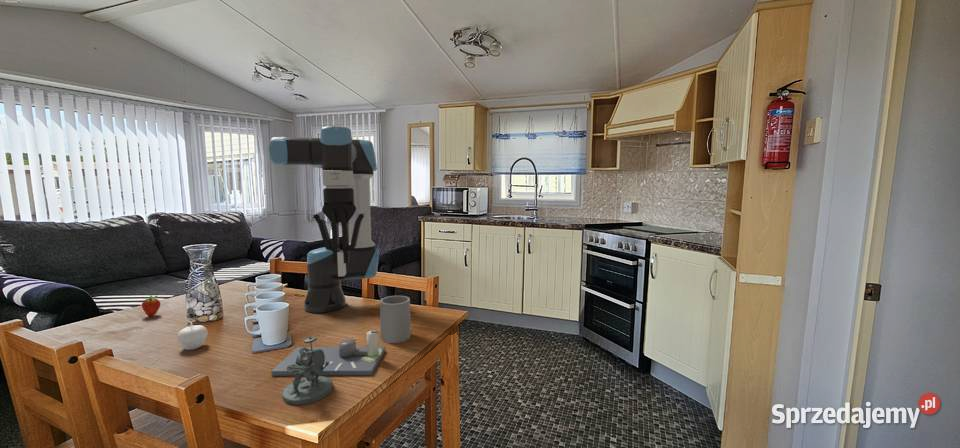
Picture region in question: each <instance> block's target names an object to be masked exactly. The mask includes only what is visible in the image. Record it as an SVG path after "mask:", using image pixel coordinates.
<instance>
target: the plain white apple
mask: <svg viewBox="0 0 960 448" xmlns="http://www.w3.org/2000/svg"><path fill="white" fill-rule="evenodd" d="M207 337H208V330H207V328H206V327H205V326H204V325H201V324H198V325H196V324H195V325H194V324H193V321H190V326H189V325H188V326H186V327H184V328H182V329H181V330H180V331H179V332H178V334H177V341H178V343H179V344H180V346H182V349H184V350H186V351H191V350H196V349H198V348H201V347H202V346H203V345H204V343H205V340H207Z"/></svg>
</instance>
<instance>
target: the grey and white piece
mask: <svg viewBox="0 0 960 448" xmlns="http://www.w3.org/2000/svg"><path fill="white" fill-rule="evenodd" d="M356 344H357V343H356V340H355V339H353V338H348V339H346V338H345V339H343V340H341V341H339V342H338V347H339V356H340V357H351V356H353V355H368V356H375V355H378V354H379V349H378V347H379V330H375V329H374V330H369V331H367V332H366V347H367V349H356V347H357V345H356Z"/></svg>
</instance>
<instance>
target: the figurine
mask: <svg viewBox="0 0 960 448" xmlns="http://www.w3.org/2000/svg"><path fill="white" fill-rule="evenodd" d="M317 340H318V338H317V336H311V335H310V336H309V337H307V338H305V339H303V343H304V344H310V345H309V346H310V347H311V350H308V349H307V348H306V346H302V348H301V349H300V350H299V352H300V354H299V355H298V356H297V359H296V363H295V364H292V365H289V366H288V367H287V368H286V369H287V372H288V373H297V374H296V376H294V378H293V380H292V382H290V383H289V384H288V385H286V386H285V387H284V388H283V390H282V393H281V394H282V395H281V396H282V401H284V402H285V403H286V404H289V405H296V406H298V405H300V406H301V405H307V404H311V403H315V402H318V401H320V400H323V399H324V398H325V397H327V396H328V395H330V394H331V392H332V391H333V389H334V383H333V380H332V379H331V378H329V377H328V376H325V375H318V373H317V372H321V371H322V372H324V371H323V369H324V368H325V367H326V366H327V365H328V364H329V362H326V363H325V366H324V362H325V355H324V352H323V351H322V350H321V349H317V350H313V349H312V347H313V345H312V343H313V342H315V341H317ZM323 366H324V367H323ZM313 374H317V375H316V376H314V375H313Z"/></svg>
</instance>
